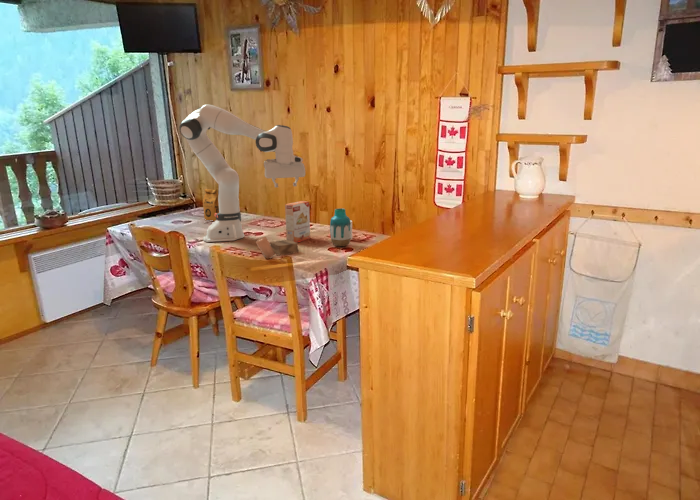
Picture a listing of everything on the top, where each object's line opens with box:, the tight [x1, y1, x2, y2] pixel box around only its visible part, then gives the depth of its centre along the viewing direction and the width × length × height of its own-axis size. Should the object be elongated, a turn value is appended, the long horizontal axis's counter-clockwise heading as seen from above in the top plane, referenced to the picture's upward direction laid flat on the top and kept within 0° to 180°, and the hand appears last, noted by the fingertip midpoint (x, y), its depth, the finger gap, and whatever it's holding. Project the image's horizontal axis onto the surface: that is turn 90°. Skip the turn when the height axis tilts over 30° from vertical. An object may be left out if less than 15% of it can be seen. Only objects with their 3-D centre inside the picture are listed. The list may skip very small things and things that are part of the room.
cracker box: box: [284, 200, 311, 244], centre depth 274 cm, size 14×6×21 cm, turn 147°
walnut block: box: [269, 239, 299, 256], centre depth 253 cm, size 10×10×5 cm
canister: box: [255, 236, 276, 259], centre depth 240 cm, size 5×5×10 cm
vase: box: [329, 207, 351, 247], centre depth 261 cm, size 11×11×19 cm
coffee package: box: [202, 188, 219, 221], centre depth 330 cm, size 10×12×22 cm
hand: (285, 186), depth 256 cm, fingers open, 8 cm apart
